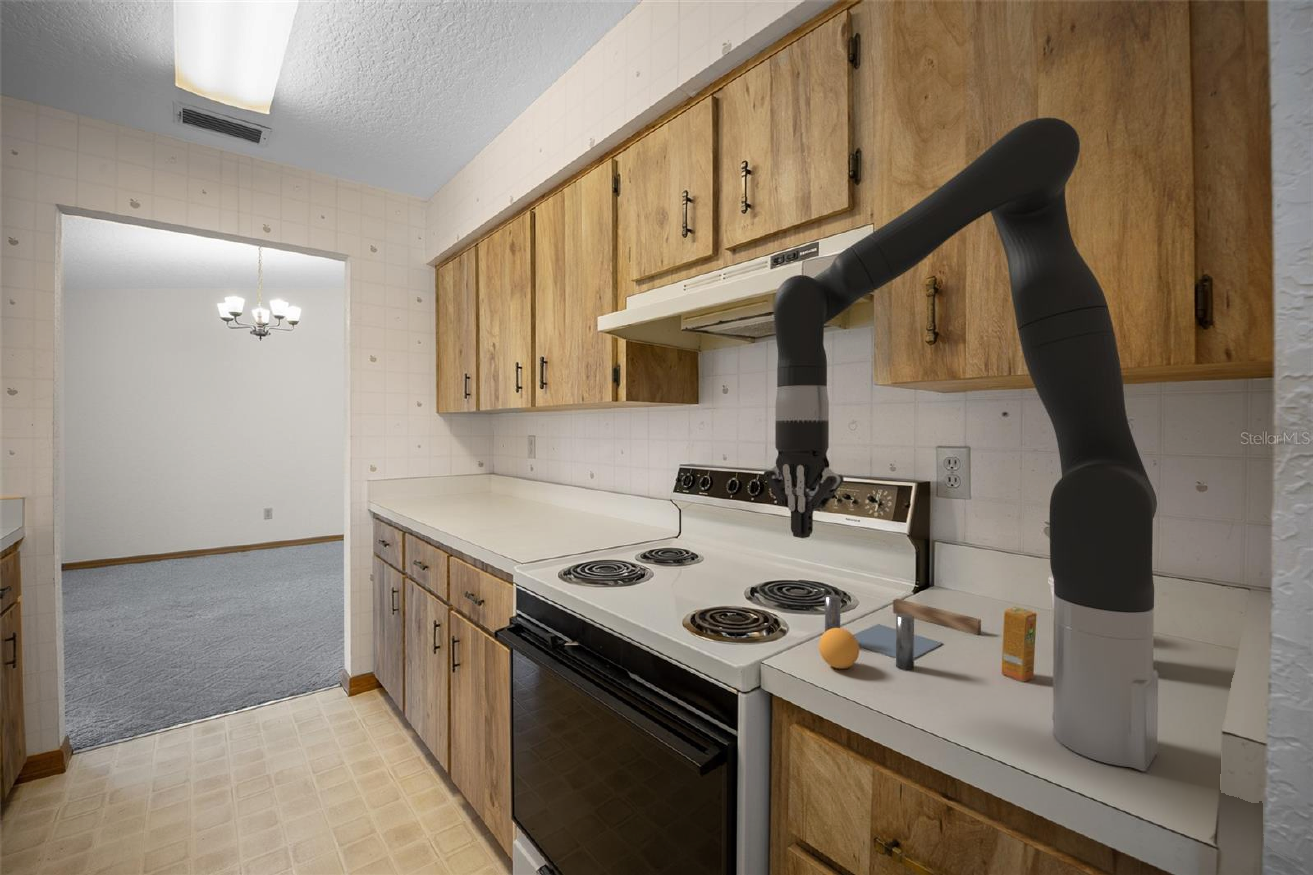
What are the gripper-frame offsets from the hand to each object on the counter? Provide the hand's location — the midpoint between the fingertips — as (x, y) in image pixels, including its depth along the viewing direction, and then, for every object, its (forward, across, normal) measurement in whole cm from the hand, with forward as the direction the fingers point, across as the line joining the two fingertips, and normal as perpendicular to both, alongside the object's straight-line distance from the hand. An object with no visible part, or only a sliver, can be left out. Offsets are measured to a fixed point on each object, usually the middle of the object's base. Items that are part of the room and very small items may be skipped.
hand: (801, 536), depth 82 cm
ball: (+19, 0, -9) cm, 21 cm away
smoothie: (+22, -18, -54) cm, 61 cm away
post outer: (+22, +6, -17) cm, 29 cm away
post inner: (+22, -7, -17) cm, 29 cm away
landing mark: (+22, 0, -25) cm, 33 cm away
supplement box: (+22, -19, -28) cm, 40 cm away
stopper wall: (+22, 0, -41) cm, 47 cm away
